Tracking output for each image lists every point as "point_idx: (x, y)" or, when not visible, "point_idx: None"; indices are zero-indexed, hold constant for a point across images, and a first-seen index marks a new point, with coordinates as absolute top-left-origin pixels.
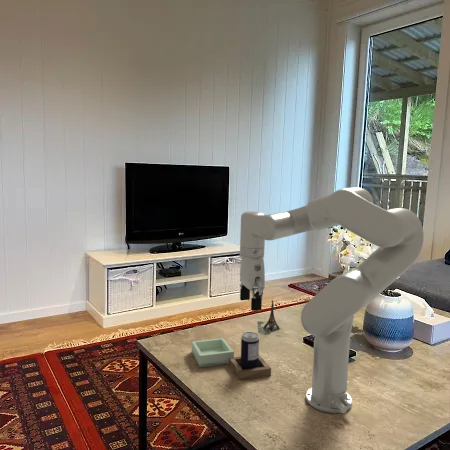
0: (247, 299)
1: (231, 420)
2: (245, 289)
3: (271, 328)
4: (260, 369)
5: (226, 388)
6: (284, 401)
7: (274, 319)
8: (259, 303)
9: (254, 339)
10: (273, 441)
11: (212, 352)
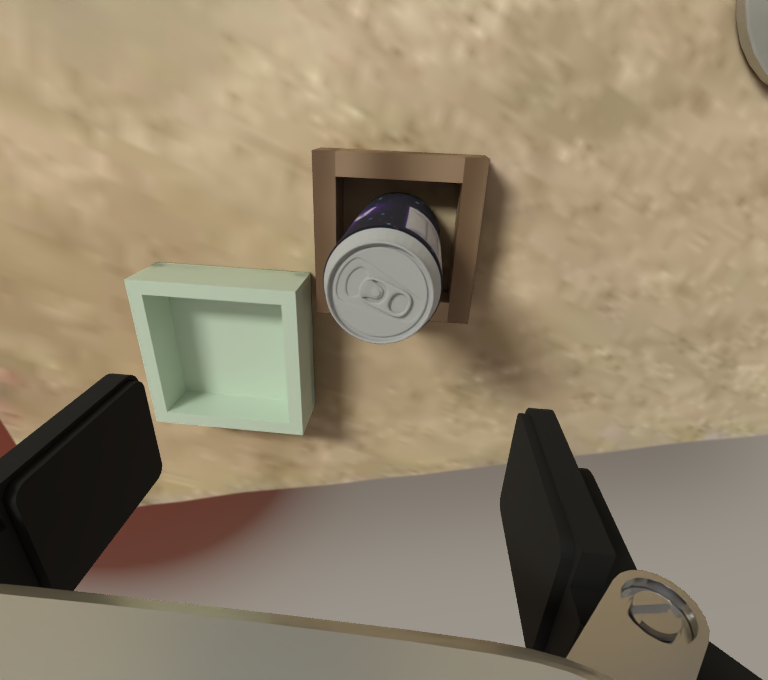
0: (143, 404)
1: (688, 432)
2: (46, 547)
3: None
4: (478, 220)
5: (498, 376)
6: (714, 206)
7: None
8: (609, 523)
9: (435, 285)
10: None
11: (213, 335)
